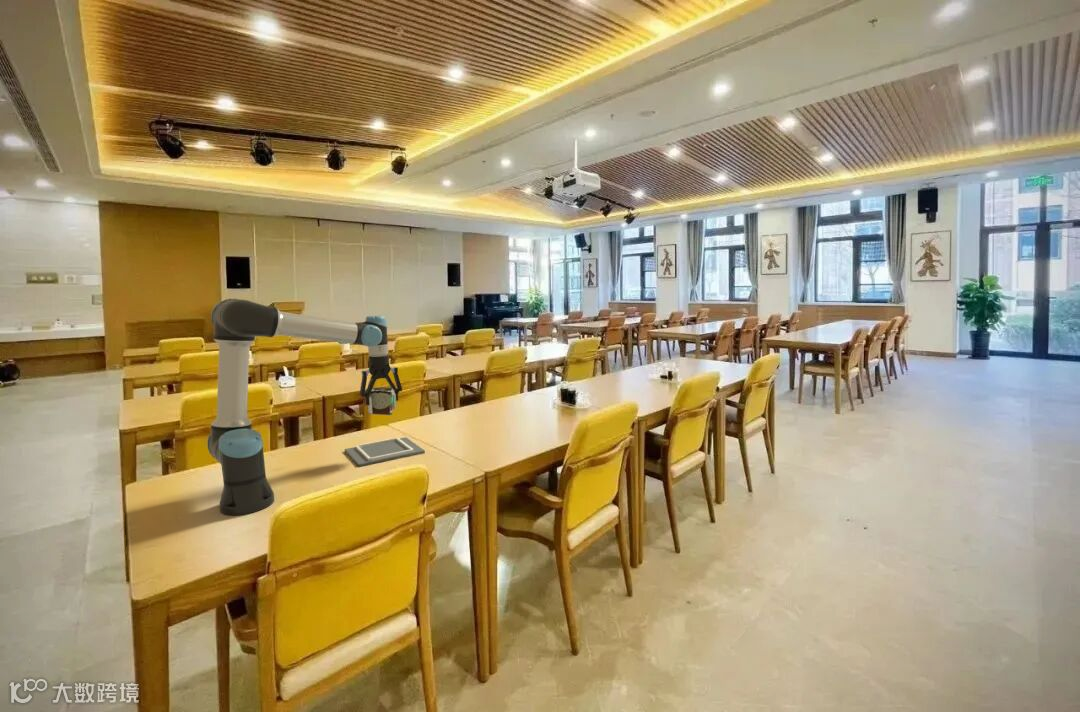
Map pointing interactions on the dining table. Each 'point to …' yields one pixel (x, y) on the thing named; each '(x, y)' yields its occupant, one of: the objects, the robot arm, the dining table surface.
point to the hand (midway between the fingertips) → (382, 410)
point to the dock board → (383, 451)
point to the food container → (382, 400)
